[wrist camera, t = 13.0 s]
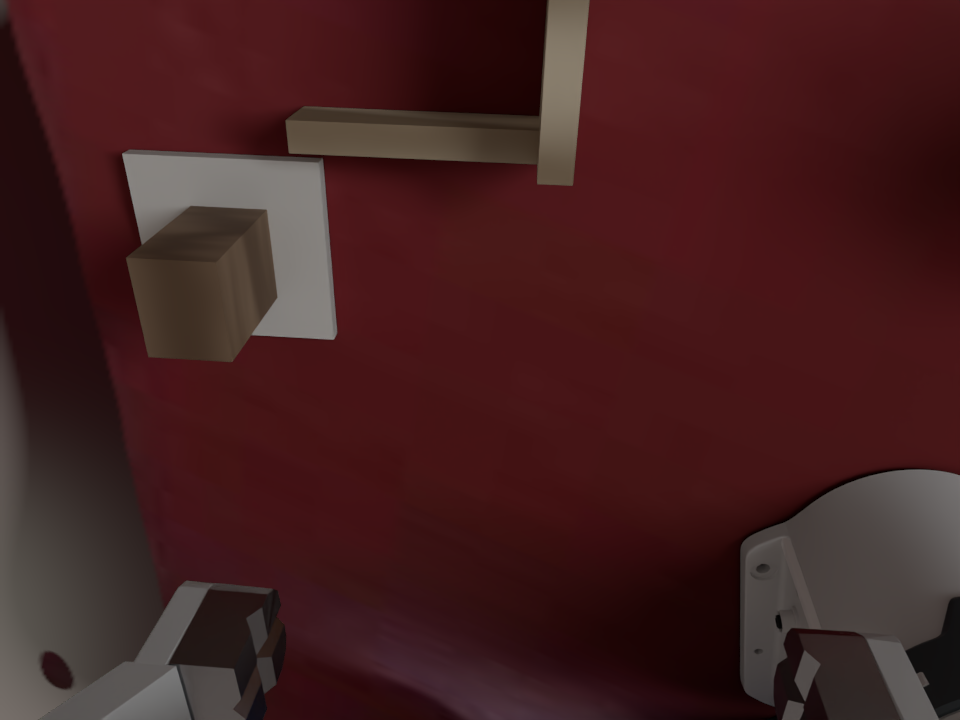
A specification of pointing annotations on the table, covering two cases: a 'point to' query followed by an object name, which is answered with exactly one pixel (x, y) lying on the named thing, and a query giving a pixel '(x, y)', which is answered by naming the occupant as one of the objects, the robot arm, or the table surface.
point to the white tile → (251, 185)
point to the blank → (204, 283)
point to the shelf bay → (470, 117)
